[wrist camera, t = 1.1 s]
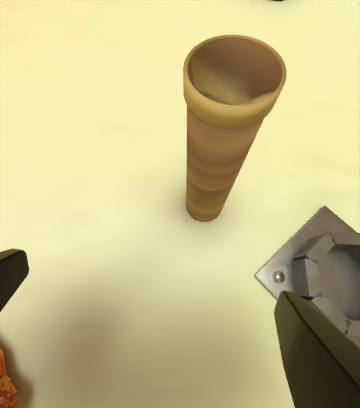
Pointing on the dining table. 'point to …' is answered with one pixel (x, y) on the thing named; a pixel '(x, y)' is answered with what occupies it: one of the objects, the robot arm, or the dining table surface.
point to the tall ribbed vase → (225, 113)
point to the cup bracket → (321, 270)
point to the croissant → (6, 387)
